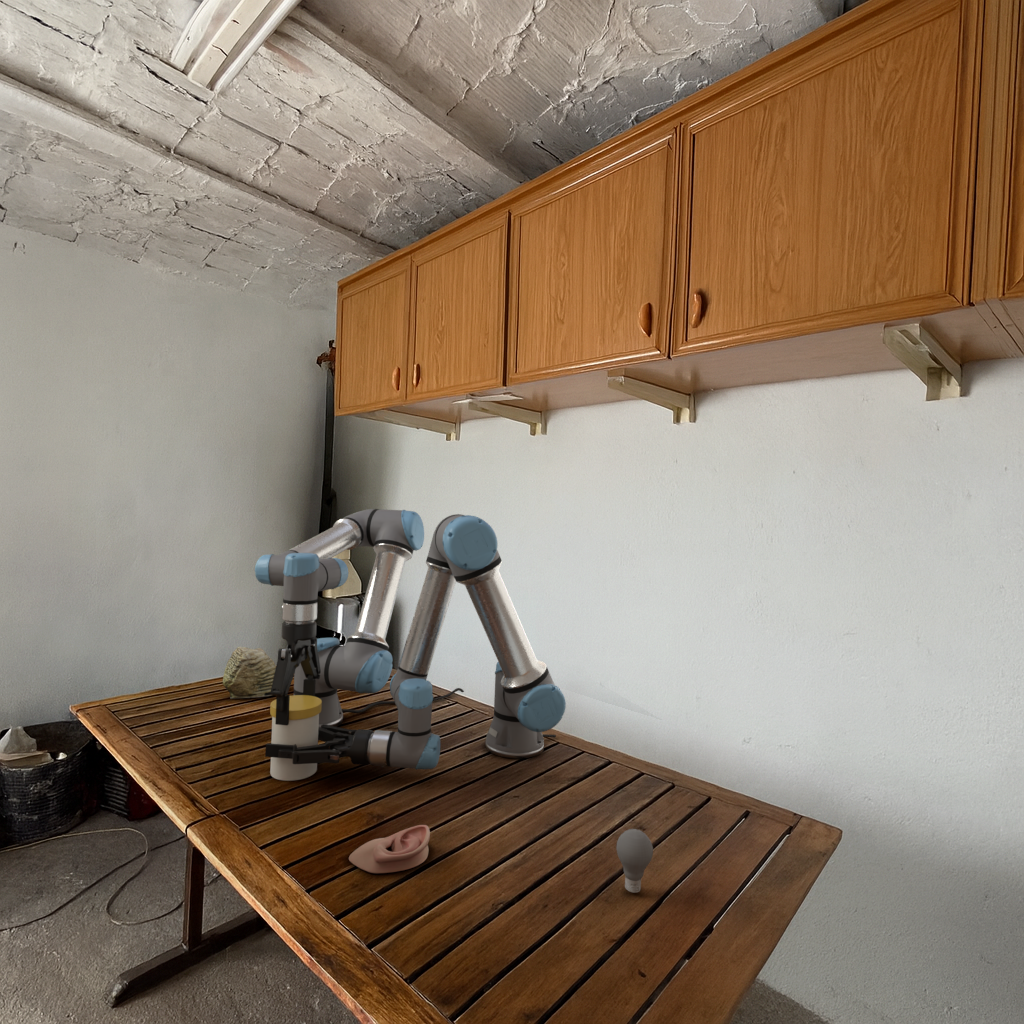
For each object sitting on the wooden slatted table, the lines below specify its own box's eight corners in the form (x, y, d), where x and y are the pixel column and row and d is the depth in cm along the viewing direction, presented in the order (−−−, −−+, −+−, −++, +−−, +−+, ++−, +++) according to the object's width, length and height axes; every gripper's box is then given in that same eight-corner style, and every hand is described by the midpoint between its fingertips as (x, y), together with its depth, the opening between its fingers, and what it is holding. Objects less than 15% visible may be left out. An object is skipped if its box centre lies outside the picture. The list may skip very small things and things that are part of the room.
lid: (326, 704, 151) (326, 695, 151) (315, 720, 140) (315, 711, 140) (278, 703, 150) (278, 694, 150) (263, 719, 139) (263, 710, 139)
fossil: (218, 695, 195) (220, 647, 195) (278, 685, 208) (279, 640, 207) (228, 703, 189) (230, 653, 188) (289, 692, 201) (290, 645, 201)
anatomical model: (341, 845, 108) (369, 813, 120) (340, 868, 108) (368, 833, 120) (414, 857, 106) (436, 823, 117) (413, 880, 106) (435, 844, 117)
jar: (321, 762, 151) (323, 697, 151) (311, 781, 141) (313, 712, 141) (277, 761, 150) (280, 697, 150) (264, 780, 140) (266, 711, 140)
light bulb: (610, 879, 108) (613, 822, 108) (644, 879, 109) (647, 822, 109) (619, 902, 102) (622, 840, 102) (655, 901, 103) (658, 840, 103)
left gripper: (308, 611, 157) (305, 698, 158) (255, 629, 134) (251, 731, 134) (337, 613, 156) (333, 700, 156) (288, 632, 133) (284, 735, 133)
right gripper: (355, 786, 133) (252, 778, 134) (384, 744, 156) (296, 738, 157) (356, 750, 133) (254, 743, 134) (385, 714, 155) (297, 708, 157)
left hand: (295, 715), depth 145 cm, fingers open, 12 cm apart
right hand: (277, 740), depth 146 cm, fingers closed on jar, 10 cm apart
